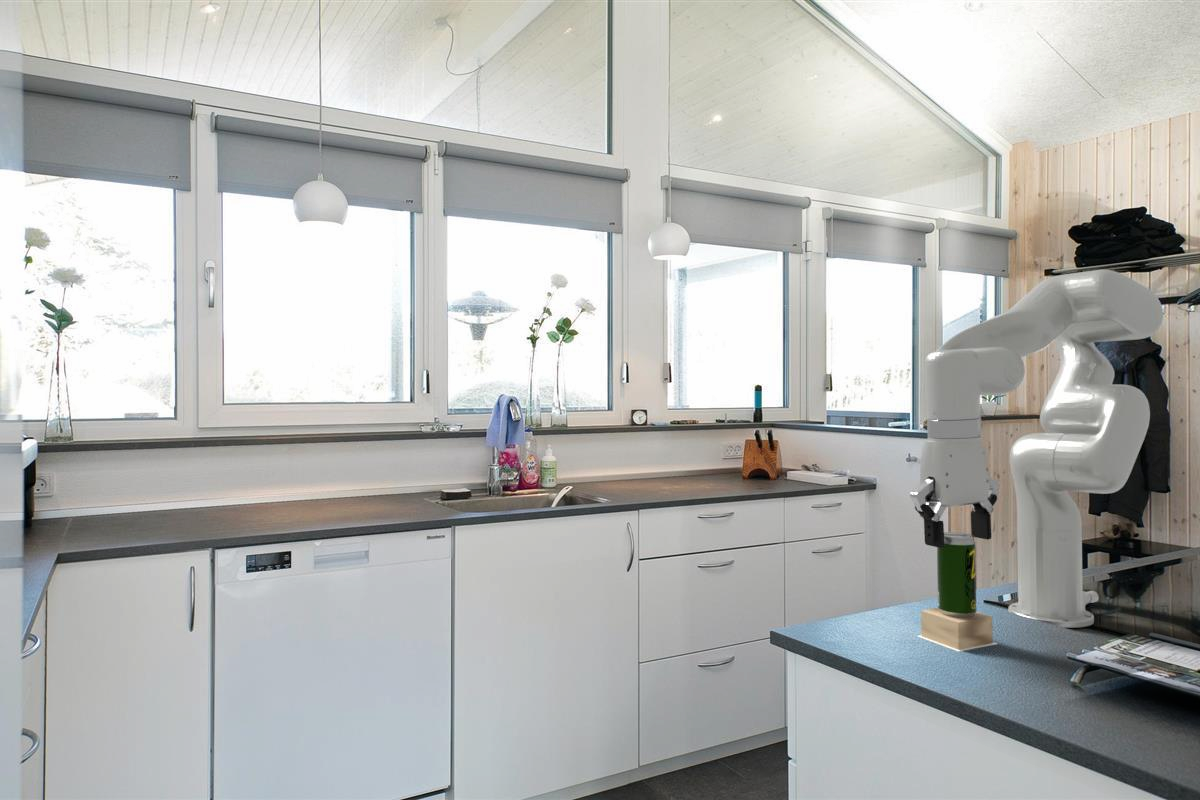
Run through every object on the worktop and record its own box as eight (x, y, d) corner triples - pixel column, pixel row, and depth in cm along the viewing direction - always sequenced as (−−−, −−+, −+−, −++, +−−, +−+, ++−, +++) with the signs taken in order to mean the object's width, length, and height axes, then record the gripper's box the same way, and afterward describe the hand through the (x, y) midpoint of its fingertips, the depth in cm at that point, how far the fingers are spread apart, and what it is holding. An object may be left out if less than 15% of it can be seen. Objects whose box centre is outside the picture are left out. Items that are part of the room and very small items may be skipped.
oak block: (954, 630, 122) (954, 605, 122) (992, 643, 115) (992, 616, 115) (921, 636, 119) (921, 610, 119) (958, 649, 112) (958, 622, 112)
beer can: (940, 617, 115) (938, 537, 115) (936, 607, 120) (934, 531, 120) (979, 619, 114) (978, 539, 114) (973, 609, 119) (972, 532, 119)
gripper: (974, 426, 124) (978, 531, 124) (892, 433, 117) (896, 544, 117) (1015, 427, 117) (1020, 539, 117) (930, 436, 110) (935, 554, 111)
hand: (958, 541), depth 117 cm, fingers open, 9 cm apart
